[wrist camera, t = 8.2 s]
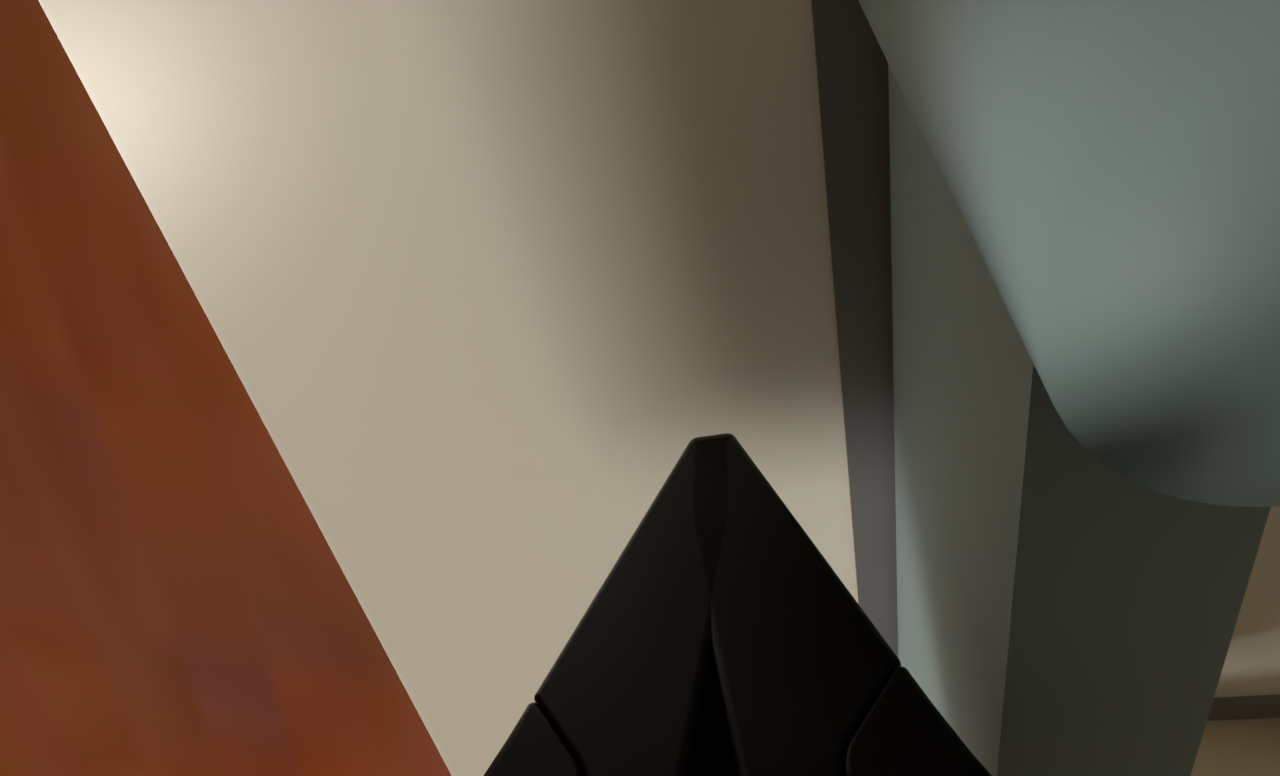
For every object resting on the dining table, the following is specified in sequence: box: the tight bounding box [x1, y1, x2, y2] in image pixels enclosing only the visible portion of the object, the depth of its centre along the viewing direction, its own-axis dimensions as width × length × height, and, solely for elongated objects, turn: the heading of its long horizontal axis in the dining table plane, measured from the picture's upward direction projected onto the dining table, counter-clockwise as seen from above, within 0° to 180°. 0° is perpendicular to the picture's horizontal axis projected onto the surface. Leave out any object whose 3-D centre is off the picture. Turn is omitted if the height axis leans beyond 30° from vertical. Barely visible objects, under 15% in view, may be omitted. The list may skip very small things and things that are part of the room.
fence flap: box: [858, 0, 1280, 776], centre depth 8 cm, size 11×2×6 cm, turn 10°
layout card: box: [38, 0, 1280, 776], centre depth 11 cm, size 22×18×1 cm
